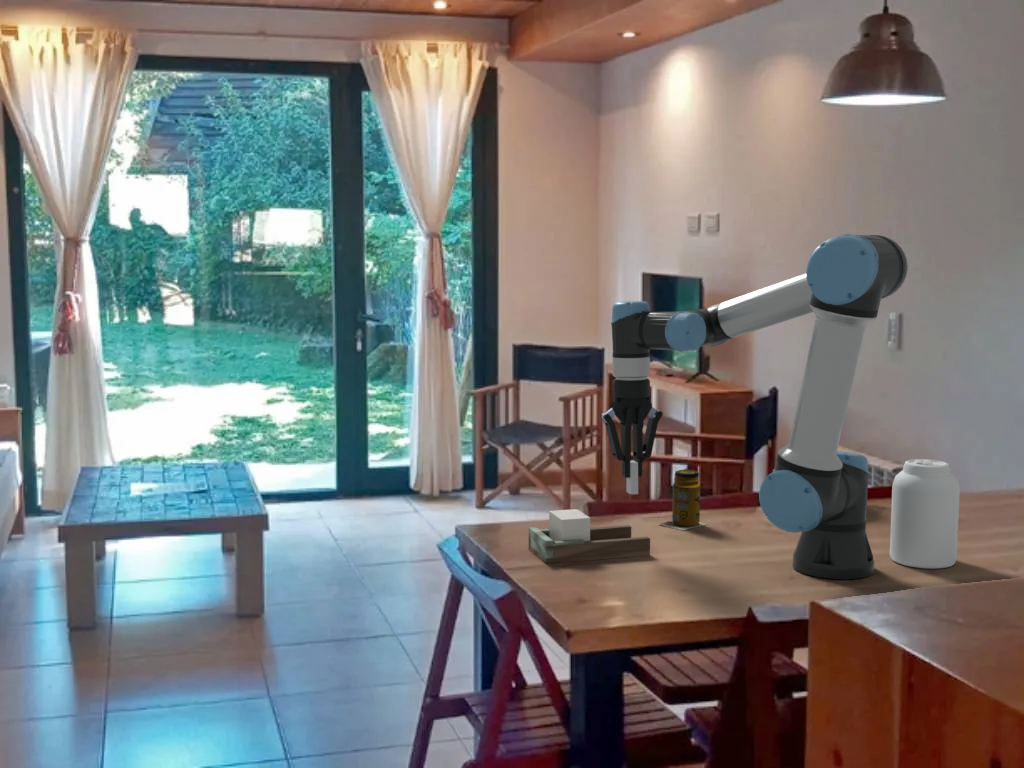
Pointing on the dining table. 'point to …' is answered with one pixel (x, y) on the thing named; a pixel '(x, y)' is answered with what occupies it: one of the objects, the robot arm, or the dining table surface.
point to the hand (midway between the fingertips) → (632, 492)
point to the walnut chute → (588, 545)
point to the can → (924, 515)
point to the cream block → (569, 525)
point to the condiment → (685, 501)
